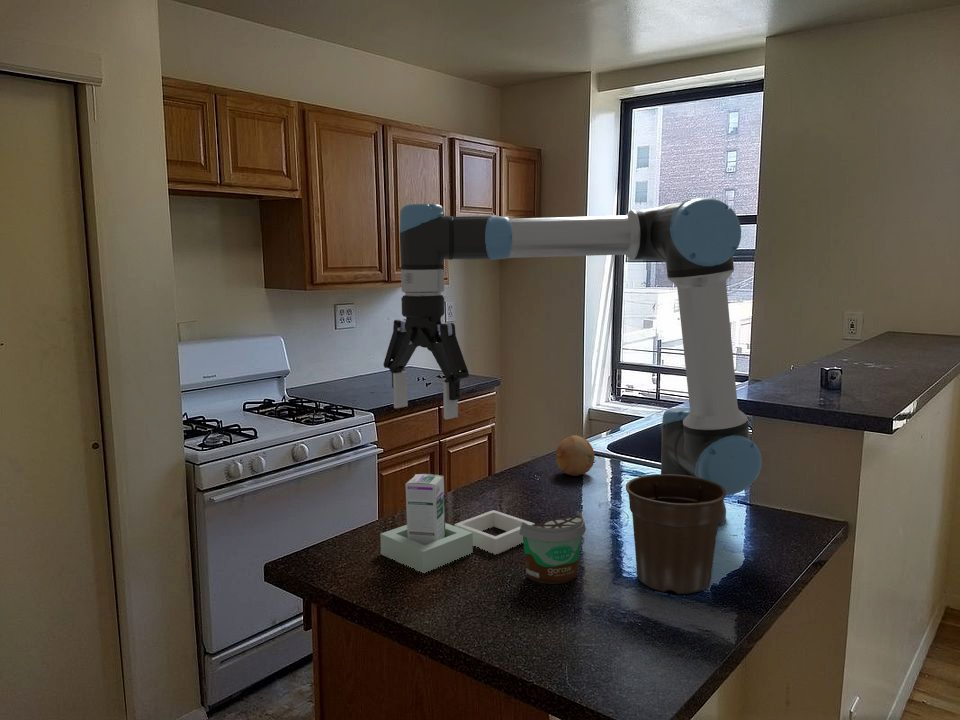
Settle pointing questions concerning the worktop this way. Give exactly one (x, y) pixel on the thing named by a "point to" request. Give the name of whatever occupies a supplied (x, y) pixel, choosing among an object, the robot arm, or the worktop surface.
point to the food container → (553, 549)
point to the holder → (499, 521)
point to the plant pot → (675, 530)
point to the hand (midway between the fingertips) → (425, 412)
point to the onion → (575, 455)
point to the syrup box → (425, 508)
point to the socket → (426, 548)
